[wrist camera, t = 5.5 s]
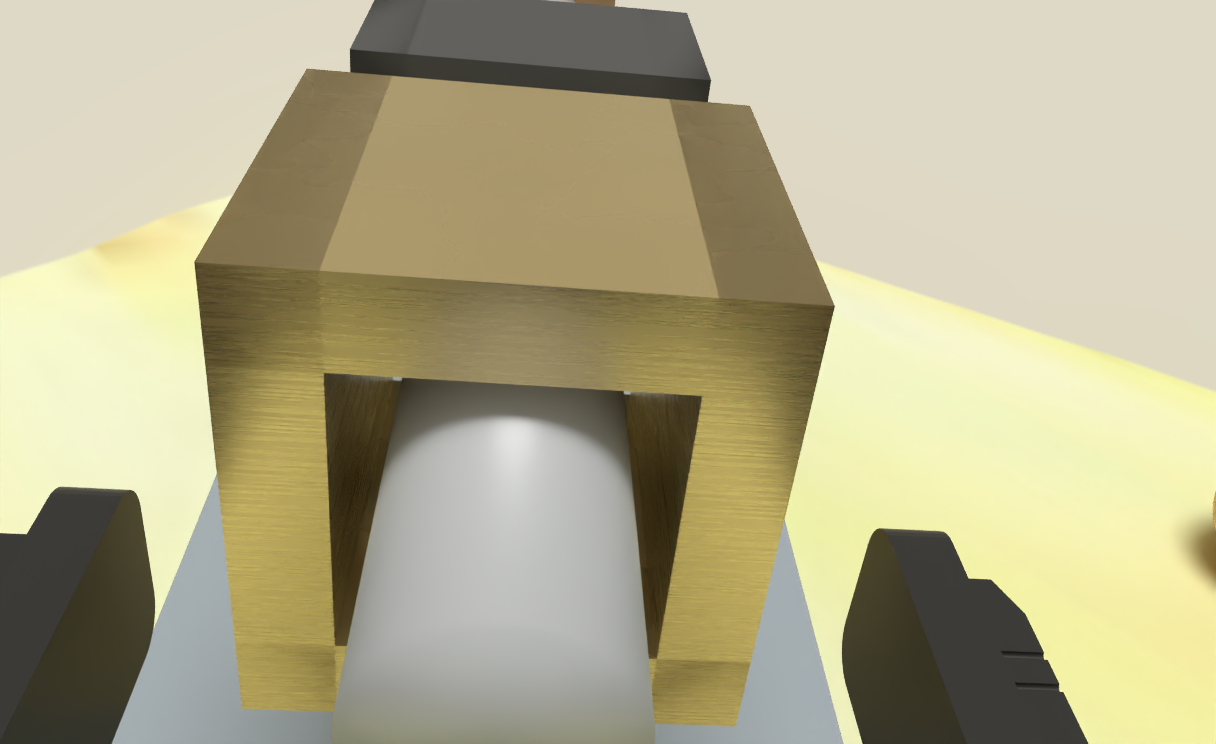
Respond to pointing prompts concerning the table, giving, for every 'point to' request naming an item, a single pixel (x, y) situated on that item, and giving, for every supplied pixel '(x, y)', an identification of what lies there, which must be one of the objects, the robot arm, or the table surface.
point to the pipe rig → (482, 598)
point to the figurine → (1214, 511)
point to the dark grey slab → (535, 46)
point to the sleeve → (507, 345)
